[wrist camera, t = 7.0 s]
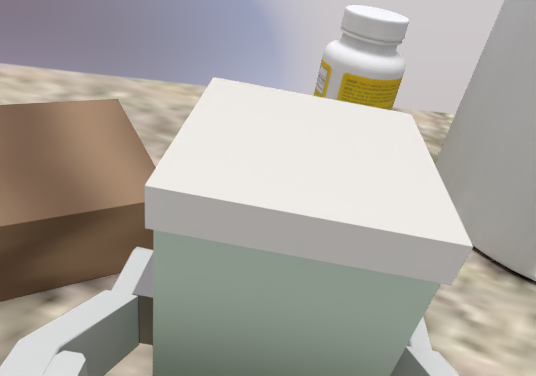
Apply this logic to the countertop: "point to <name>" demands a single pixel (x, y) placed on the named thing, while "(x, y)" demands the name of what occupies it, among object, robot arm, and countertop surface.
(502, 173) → the utensil holder
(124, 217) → the walnut block
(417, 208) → the canister
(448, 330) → the countertop surface
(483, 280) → the countertop surface
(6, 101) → the countertop surface
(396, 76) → the supplement bottle
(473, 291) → the countertop surface
